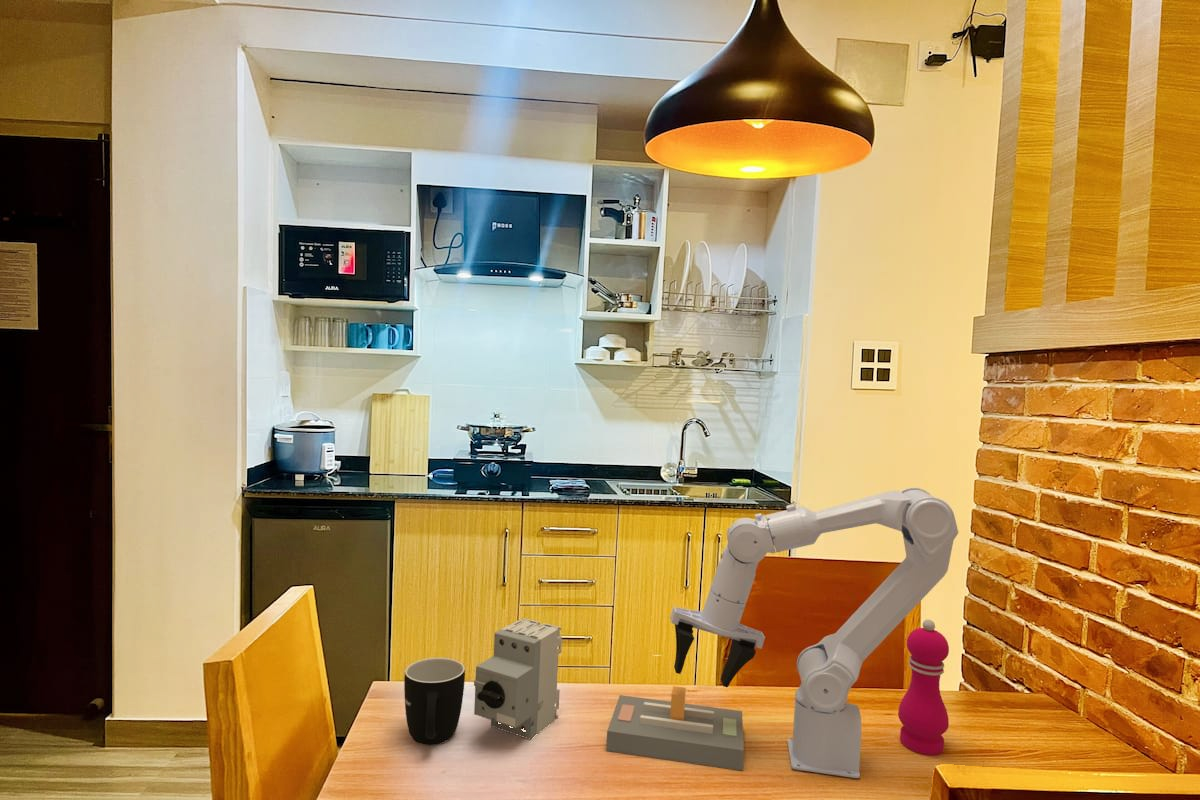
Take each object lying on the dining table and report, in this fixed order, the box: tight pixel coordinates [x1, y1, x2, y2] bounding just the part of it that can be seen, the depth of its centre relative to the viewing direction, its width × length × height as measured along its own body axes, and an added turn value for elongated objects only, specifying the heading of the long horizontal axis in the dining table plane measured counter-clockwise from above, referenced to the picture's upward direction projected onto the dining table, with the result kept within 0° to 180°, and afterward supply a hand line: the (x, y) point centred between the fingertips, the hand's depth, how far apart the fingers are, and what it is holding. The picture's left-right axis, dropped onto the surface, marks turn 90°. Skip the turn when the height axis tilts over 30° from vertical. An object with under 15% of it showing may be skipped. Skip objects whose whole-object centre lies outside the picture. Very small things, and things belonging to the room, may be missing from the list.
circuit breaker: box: [473, 617, 563, 740], centre depth 107 cm, size 8×14×15 cm, turn 152°
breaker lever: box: [670, 685, 687, 721], centre depth 106 cm, size 2×3×4 cm
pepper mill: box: [897, 619, 950, 756], centre depth 108 cm, size 7×7×20 cm
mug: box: [403, 657, 466, 746], centre depth 103 cm, size 12×9×10 cm
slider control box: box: [605, 694, 745, 772], centre depth 106 cm, size 20×12×4 cm, turn 79°
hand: (700, 677), depth 105 cm, fingers open, 7 cm apart
